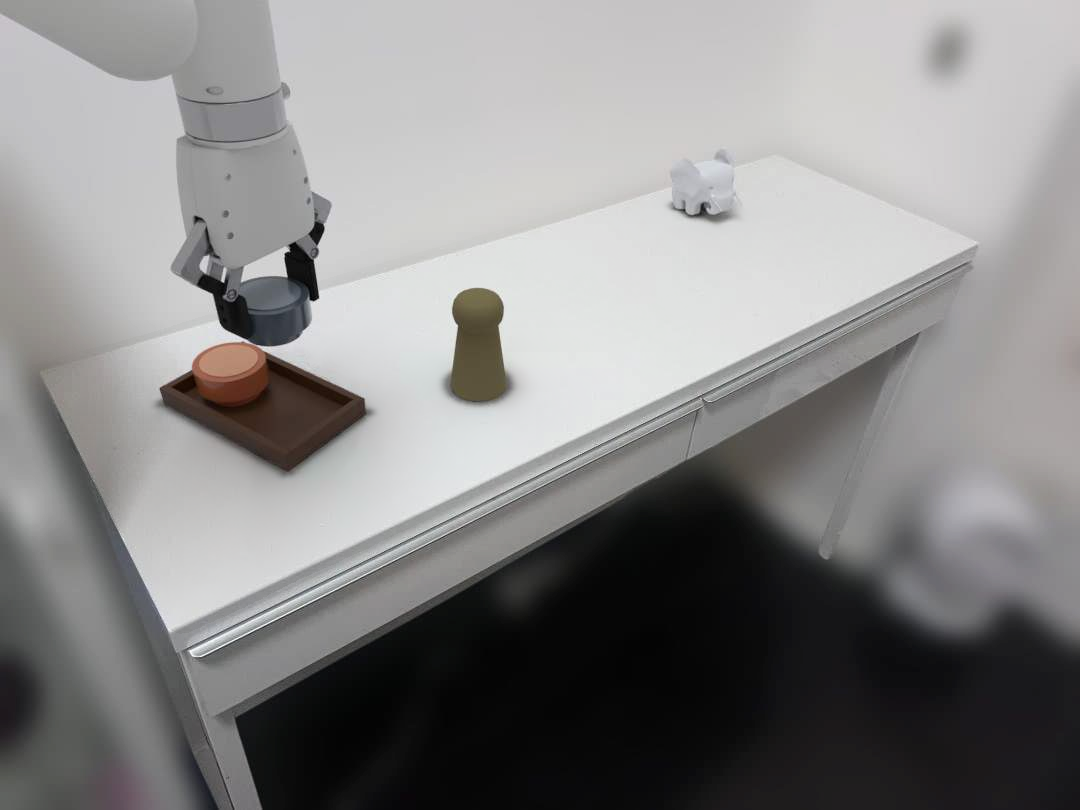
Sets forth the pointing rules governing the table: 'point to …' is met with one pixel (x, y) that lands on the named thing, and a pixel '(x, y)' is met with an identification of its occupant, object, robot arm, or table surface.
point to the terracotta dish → (231, 373)
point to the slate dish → (276, 309)
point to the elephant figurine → (704, 184)
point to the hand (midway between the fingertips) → (272, 312)
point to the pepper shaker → (478, 346)
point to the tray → (274, 413)
